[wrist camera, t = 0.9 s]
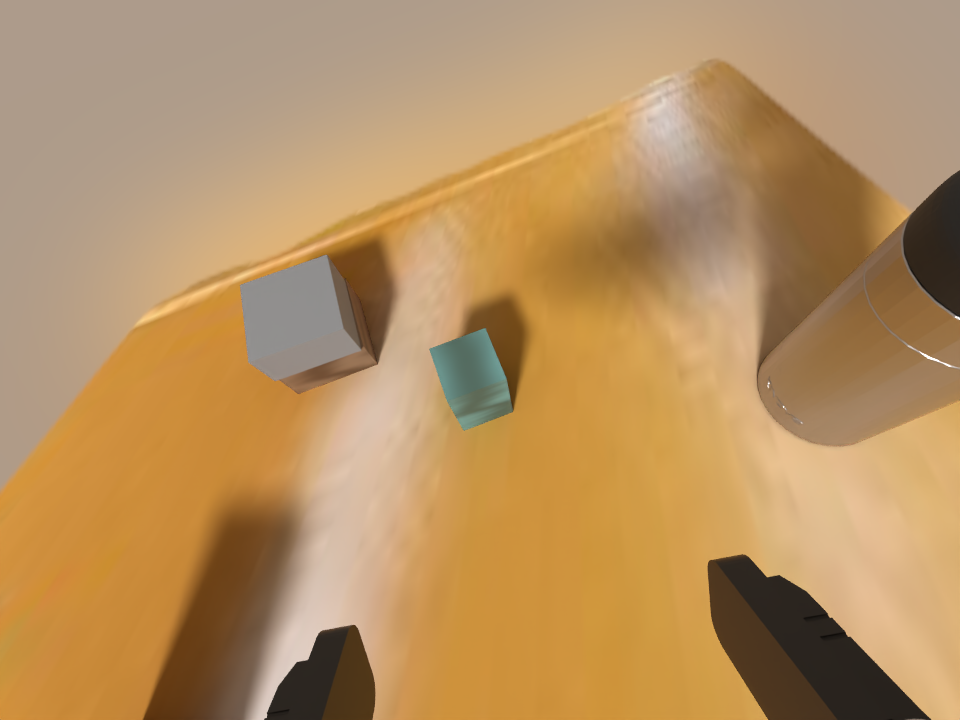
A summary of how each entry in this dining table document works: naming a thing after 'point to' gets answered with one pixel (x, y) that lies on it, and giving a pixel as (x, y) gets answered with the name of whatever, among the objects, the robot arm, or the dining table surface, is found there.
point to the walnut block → (341, 365)
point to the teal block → (472, 379)
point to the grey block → (298, 319)
